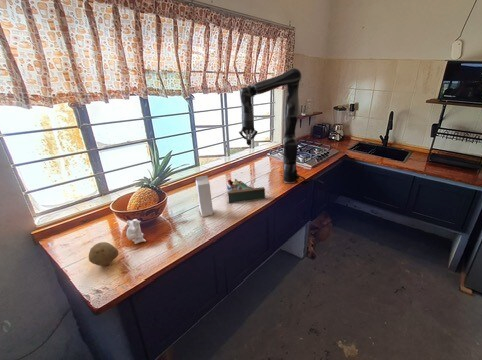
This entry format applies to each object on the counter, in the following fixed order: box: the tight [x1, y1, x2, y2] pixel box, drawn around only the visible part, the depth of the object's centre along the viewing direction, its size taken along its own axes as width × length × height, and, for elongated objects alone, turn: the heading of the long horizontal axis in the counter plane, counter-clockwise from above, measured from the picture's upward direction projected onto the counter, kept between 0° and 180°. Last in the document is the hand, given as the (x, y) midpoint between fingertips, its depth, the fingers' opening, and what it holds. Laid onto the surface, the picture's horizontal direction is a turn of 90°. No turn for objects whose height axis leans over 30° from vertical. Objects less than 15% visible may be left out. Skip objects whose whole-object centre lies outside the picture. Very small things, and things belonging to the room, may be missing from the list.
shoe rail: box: [227, 186, 266, 204], centre depth 150 cm, size 22×3×7 cm, turn 107°
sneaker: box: [226, 178, 253, 193], centre depth 156 cm, size 8×21×10 cm, turn 72°
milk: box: [195, 175, 214, 218], centre depth 131 cm, size 6×6×22 cm
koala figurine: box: [125, 218, 147, 245], centre depth 110 cm, size 8×7×12 cm
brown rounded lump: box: [88, 241, 119, 267], centre depth 97 cm, size 9×9×10 cm
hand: (248, 144), depth 167 cm, fingers closed
